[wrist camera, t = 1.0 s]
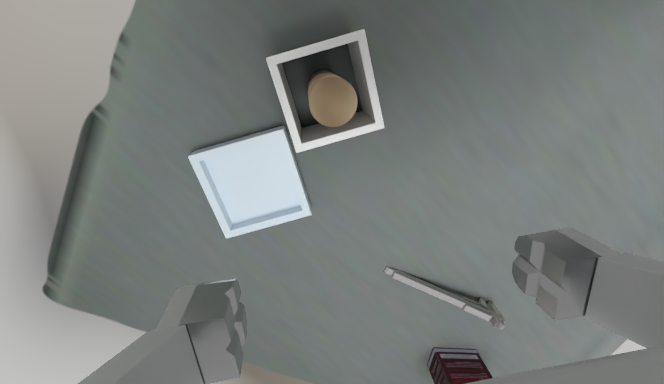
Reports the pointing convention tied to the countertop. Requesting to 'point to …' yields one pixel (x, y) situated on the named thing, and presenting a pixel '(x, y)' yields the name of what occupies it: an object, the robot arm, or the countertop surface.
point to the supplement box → (457, 366)
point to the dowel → (331, 99)
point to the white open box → (365, 83)
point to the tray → (252, 181)
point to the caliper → (453, 298)
